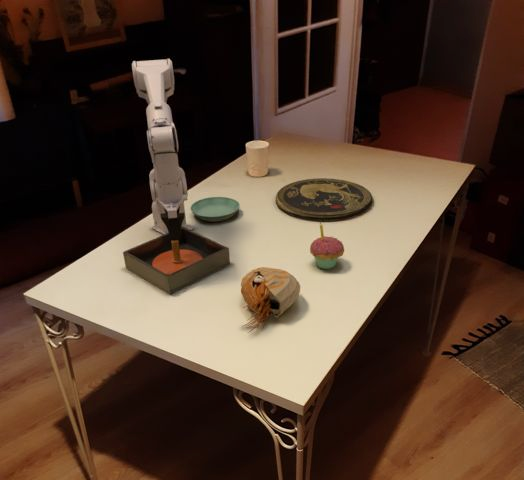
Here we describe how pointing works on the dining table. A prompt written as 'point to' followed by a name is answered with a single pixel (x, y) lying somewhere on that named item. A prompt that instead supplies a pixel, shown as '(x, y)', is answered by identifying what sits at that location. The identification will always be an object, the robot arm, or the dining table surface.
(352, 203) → the decorative plate
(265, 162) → the white cup
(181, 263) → the orange round pegged disc
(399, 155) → the dining table surface
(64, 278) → the dining table surface
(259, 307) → the nautilus shell
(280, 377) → the dining table surface
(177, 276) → the tray
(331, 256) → the cupcake
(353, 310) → the dining table surface
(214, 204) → the saucer
